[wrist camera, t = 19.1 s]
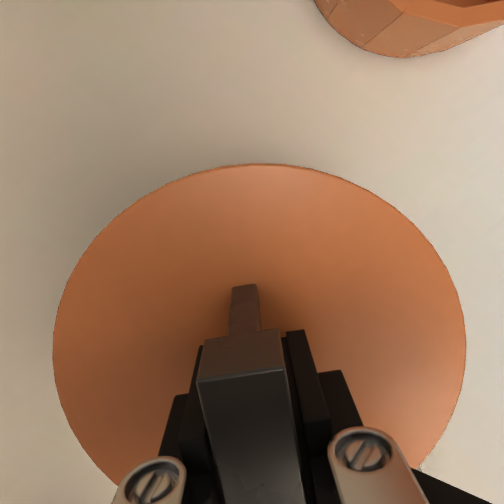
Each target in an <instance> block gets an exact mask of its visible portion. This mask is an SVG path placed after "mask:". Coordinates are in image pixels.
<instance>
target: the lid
mask: <svg viewBox="0 0 504 504" xmlns="http://www.w3.org/2000/svg"><path fill="white" fill-rule="evenodd" d="M300 329H304V330H305V333H306V336H307V340H308V343H309V346H310V350H311V353H312V357H313V360H314V363H315V367H316V370H317V373H320V372H326V371H333V370H339V369H340V370H341V371H342V373H343V376H344V378H345V381H346V383H347V385H348V388H349V390H350V393H351V395H352V398H353V400H354V403H355V405H356V408H357V410H358V413H359V415H360V418H361V420H362V423H363V425H364V426H366V427H373V428H376V429H379V430H381V431H384V432H385V433H387V434H388V435H390V436H391V437H392V438H393V439H394V440H395V442H396V443H397V444H398V446H399V448H400V450H401V452H402V453H403V455H404V457H405V459H406V461H407V463H408V465H409V466H410V467H411V468H413V469H417V467H418V466H419V465H420V464H421V463H422V462H423V460H424V459H425V458H426V457H427V456H428V455H429V453H430V452H431V451H432V449H433V448H434V446H435V445H436V443H437V442H438V440H439V439H440V437H441V436H442V434H443V432H444V430H445V428H446V426H447V424H448V422H449V420H450V418H451V416H452V414H453V412H454V409H455V406H456V403H457V400H458V397H459V394H460V391H461V387H462V382H463V376H464V371H465V364H466V334H465V325H464V316H463V313H462V309H461V305H460V301H459V298H458V294H457V291H456V288H455V286H454V284H453V282H452V279H451V277H450V275H449V272H448V270H447V268H446V266H445V265H444V263H443V262H442V260H441V258H440V257H439V255H438V254H437V252H436V250H435V249H434V247H433V246H432V245H431V243H430V242H429V241H428V240H427V239H426V237H425V236H424V235H423V234H422V233H421V232H420V230H419V229H418V228H417V227H416V226H415V225H414V224H413V223H412V222H411V221H410V220H408V219H407V218H406V217H405V216H404V215H403V214H402V213H400V212H399V211H398V210H397V209H396V208H395V207H394V206H392V205H390V204H389V203H387V202H386V201H384V200H383V199H381V198H380V197H378V196H377V195H375V194H373V193H372V192H370V191H369V190H366V189H364V188H362V187H360V186H358V185H356V184H354V183H351V182H349V181H347V180H345V179H343V178H340V177H338V176H334V175H331V174H328V173H325V172H321V171H318V170H315V169H311V168H305V167H299V166H293V165H287V164H273V163H247V164H238V165H228V166H221V167H217V168H213V169H209V170H205V171H201V172H197V173H193V174H191V175H188V176H185V177H183V178H180V179H178V180H175V181H173V182H170V183H168V184H166V185H164V186H162V187H160V188H158V189H157V190H155V191H153V192H151V193H150V194H148V195H146V196H144V197H142V198H141V199H139V200H137V201H136V202H135V203H133V204H132V205H131V206H130V207H128V208H127V209H126V210H124V211H123V212H122V213H120V214H119V215H118V216H116V217H115V218H114V219H113V220H112V221H111V222H110V223H109V224H108V225H107V226H106V227H105V228H104V229H103V230H102V231H101V232H100V233H99V234H98V235H97V236H96V237H95V239H94V240H93V241H92V243H91V244H90V246H89V247H88V248H87V250H86V251H85V252H84V254H83V255H82V256H81V258H80V259H79V261H78V263H77V265H76V267H75V268H74V270H73V272H72V274H71V276H70V278H69V280H68V282H67V284H66V287H65V289H64V292H63V295H62V298H61V301H60V304H59V307H58V311H57V316H56V322H55V327H54V332H53V357H52V358H53V367H54V376H55V383H56V387H57V391H58V395H59V399H60V402H61V406H62V408H63V411H64V413H65V415H66V418H67V420H68V423H69V425H70V427H71V429H72V431H73V432H74V434H75V436H76V437H77V439H78V441H79V443H80V444H81V446H82V448H83V449H84V450H85V451H86V453H87V454H88V455H89V457H90V458H91V459H92V460H93V462H94V463H95V464H96V466H97V467H98V468H99V469H100V470H101V471H102V472H103V473H104V474H105V475H106V476H107V477H108V478H109V479H110V480H111V481H112V482H114V483H115V484H116V485H117V486H119V484H120V483H121V481H122V479H123V477H124V476H125V475H126V474H127V473H128V472H129V471H130V470H131V469H132V468H134V467H135V466H137V465H138V464H139V463H141V462H143V461H146V460H148V459H150V458H154V457H158V453H159V449H160V446H161V442H162V439H163V435H164V431H165V428H166V424H167V421H168V417H169V414H170V410H171V406H172V403H173V399H174V397H175V396H176V395H179V394H186V393H189V389H190V384H191V380H192V375H193V371H194V367H195V362H196V358H197V353H198V349H199V346H200V345H203V350H202V355H201V360H200V364H199V369H198V374H197V379H196V385H197V390H198V394H199V398H200V402H201V407H202V411H203V415H204V419H205V424H206V428H207V432H208V437H209V441H210V445H211V449H212V454H213V458H214V462H215V467H216V471H217V475H218V479H219V484H220V488H221V492H222V497H223V501H224V504H308V499H307V493H306V487H305V481H304V475H303V469H302V463H301V457H300V451H299V445H298V439H297V433H296V427H295V421H294V415H293V409H292V403H291V397H290V391H289V385H288V379H287V373H286V367H285V361H284V355H283V349H282V343H281V338H282V337H286V332H287V331H294V330H300Z"/></svg>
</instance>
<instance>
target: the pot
mask: <svg viewBox="0 0 504 504" xmlns="http://www.w3.org/2000/svg"><path fill="white" fill-rule="evenodd" d="M314 1H315V3H316V5H317V6H318V8H319V10H320V11H321V13H322V14H323V16H324V17H325V18H326V19H327V21H328V22H329V23H330V24H331V26H332V27H333V28H335V29H336V30H337V31H338V32H339V33H340V34H341V35H342V36H343V37H345V38H346V39H348V40H349V41H350V42H352V43H353V44H355V45H357V46H359V47H361V48H362V49H365V50H367V51H370V52H373V53H376V54H379V55H385V56H391V57H398V58H408V57H415V56H422V55H426V54H430V53H435V52H441V51H445V50H447V49H450V48H452V47H454V46H456V45H459V44H461V43H463V42H465V41H468V40H470V39H472V38H474V37H476V36H479V35H481V34H483V33H485V32H488V31H490V30H492V29H494V28H497V27H499V26H501V25H503V24H504V0H314Z"/></svg>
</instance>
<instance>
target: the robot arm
mask: <svg viewBox="0 0 504 504" xmlns="http://www.w3.org/2000/svg"><path fill="white" fill-rule="evenodd" d="M281 343H282V349H283V355H284V361H285V367H286V373H287V379H288V385H289V391H290V397H291V403H292V409H293V415H294V421H295V427H296V433H297V439H298V445H299V451H300V457H301V463H302V469H303V475H304V481H305V487H306V493H307V499H308V504H492V503H489V502H487V501H485V500H483V499H480V498H478V497H476V496H474V495H472V494H469V493H467V492H465V491H463V490H460V489H458V488H456V487H454V486H451V485H449V484H447V483H445V482H442V481H440V480H438V479H436V478H434V477H431V476H429V475H427V474H425V473H422V472H420V471H418V470H416V469H413V468H411V467H410V466H409V465H408V463H407V461H406V459H405V457H404V455H403V453H402V452H401V450H400V448H399V446H398V444H397V443H396V442H395V440H394V439H393V438H392V437H391V436H390V435H388V434H387V433H385V432H384V431H381V430H379V429H376V428H373V427H366V426H364V425H363V423H362V420H361V418H360V415H359V413H358V410H357V408H356V405H355V403H354V400H353V398H352V395H351V393H350V390H349V388H348V385H347V383H346V381H345V378H344V376H343V373H342V371H341V370H340V369H339V370H333V371H326V372H320V373H317V370H316V367H315V363H314V360H313V357H312V353H311V350H310V346H309V343H308V340H307V336H306V333H305V330H304V329H300V330H294V331H287V332H286V337H282V338H281ZM202 350H203V345H200V346H199V349H198V353H197V358H196V362H195V367H194V371H193V375H192V380H191V384H190V389H189V393H186V394H179V395H176V396H175V397H174V399H173V403H172V406H171V410H170V414H169V417H168V421H167V424H166V428H165V431H164V435H163V439H162V442H161V446H160V449H159V453H158V457H154V458H150V459H148V460H146V461H143V462H141V463H139V464H138V465H137V466H135V467H134V468H132V469H131V470H130V471H129V472H128V473H127V474H126V475H125V476H124V477H123V479H122V481H121V483H120V484H119V486H118V489H117V491H116V494H115V496H114V499H113V501H112V504H224V501H223V497H222V492H221V488H220V484H219V479H218V475H217V471H216V467H215V462H214V458H213V454H212V449H211V445H210V441H209V437H208V432H207V428H206V424H205V419H204V415H203V411H202V407H201V402H200V398H199V394H198V390H197V385H196V379H197V374H198V369H199V364H200V360H201V355H202Z"/></svg>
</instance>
